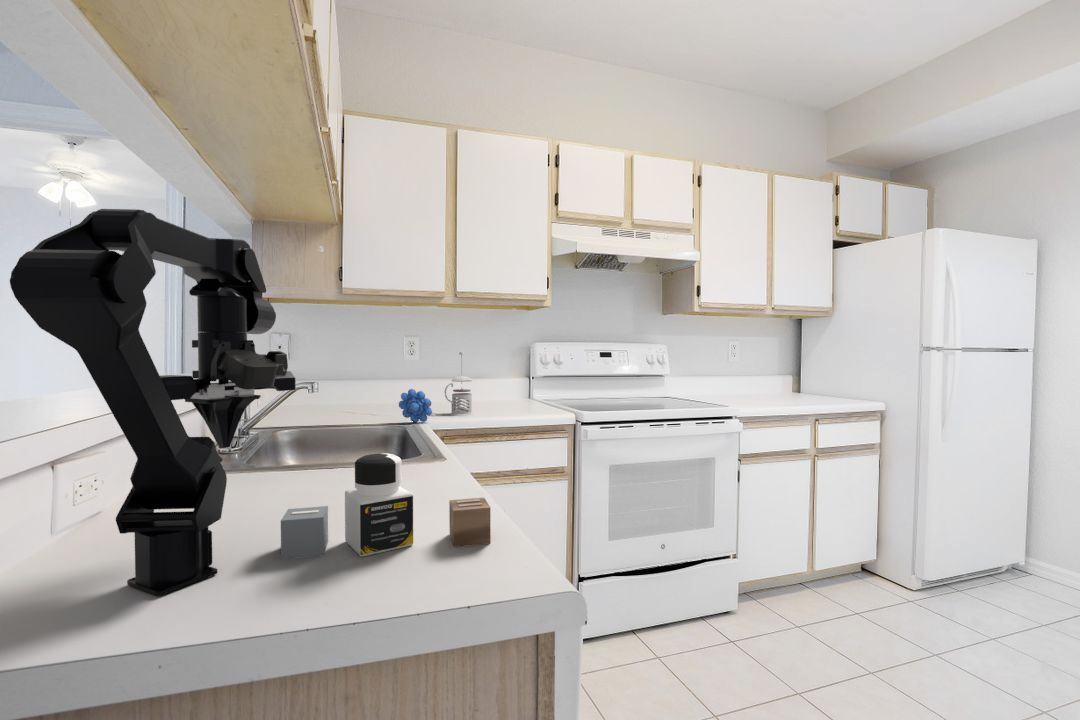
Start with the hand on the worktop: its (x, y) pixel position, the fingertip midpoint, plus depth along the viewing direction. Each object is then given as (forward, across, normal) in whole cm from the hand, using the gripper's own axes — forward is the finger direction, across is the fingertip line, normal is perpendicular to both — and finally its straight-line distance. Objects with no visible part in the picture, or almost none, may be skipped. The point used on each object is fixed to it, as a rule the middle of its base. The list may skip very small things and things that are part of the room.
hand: (224, 447), depth 72 cm
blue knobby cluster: (+13, +101, +51) cm, 114 cm away
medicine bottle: (+13, +9, -19) cm, 25 cm away
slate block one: (+13, +3, -12) cm, 18 cm away
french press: (+13, +128, +51) cm, 138 cm away
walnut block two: (+13, +16, -29) cm, 36 cm away
